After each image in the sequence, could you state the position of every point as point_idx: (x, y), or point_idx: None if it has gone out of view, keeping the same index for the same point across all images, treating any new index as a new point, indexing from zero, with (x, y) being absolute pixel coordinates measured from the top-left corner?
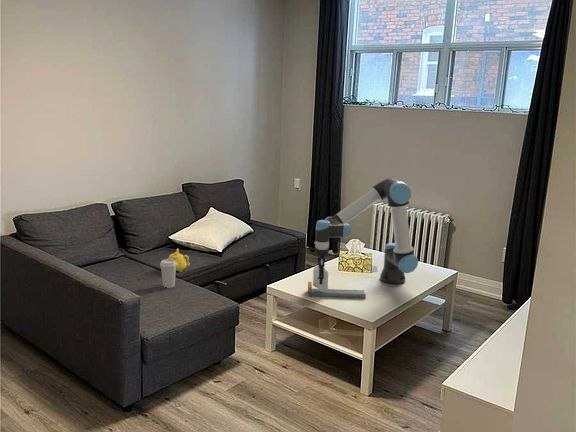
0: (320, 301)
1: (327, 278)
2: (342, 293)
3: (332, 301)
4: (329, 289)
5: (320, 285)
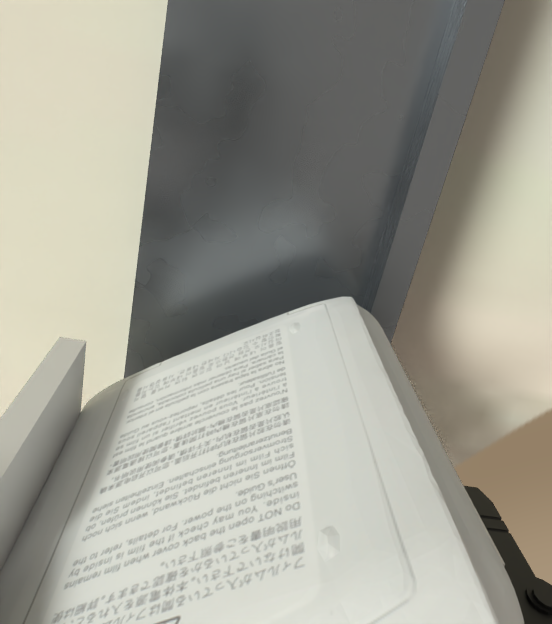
0: (499, 381)
1: (409, 430)
2: (497, 17)
3: (549, 230)
4: (166, 192)
5: None
